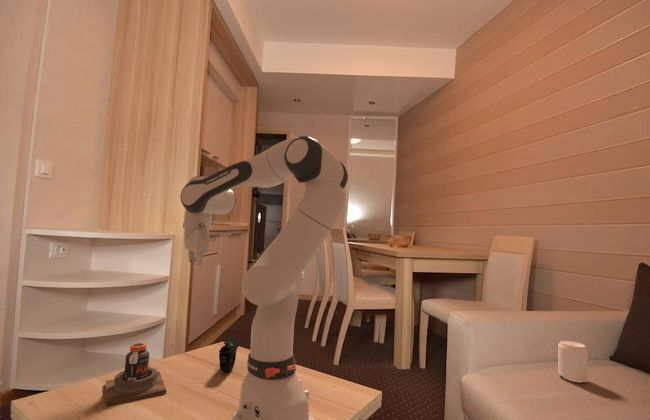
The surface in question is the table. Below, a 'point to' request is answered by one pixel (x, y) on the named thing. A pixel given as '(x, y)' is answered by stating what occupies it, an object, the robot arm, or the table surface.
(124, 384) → the holder
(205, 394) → the table surface
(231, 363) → the controller
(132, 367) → the pill bottle
